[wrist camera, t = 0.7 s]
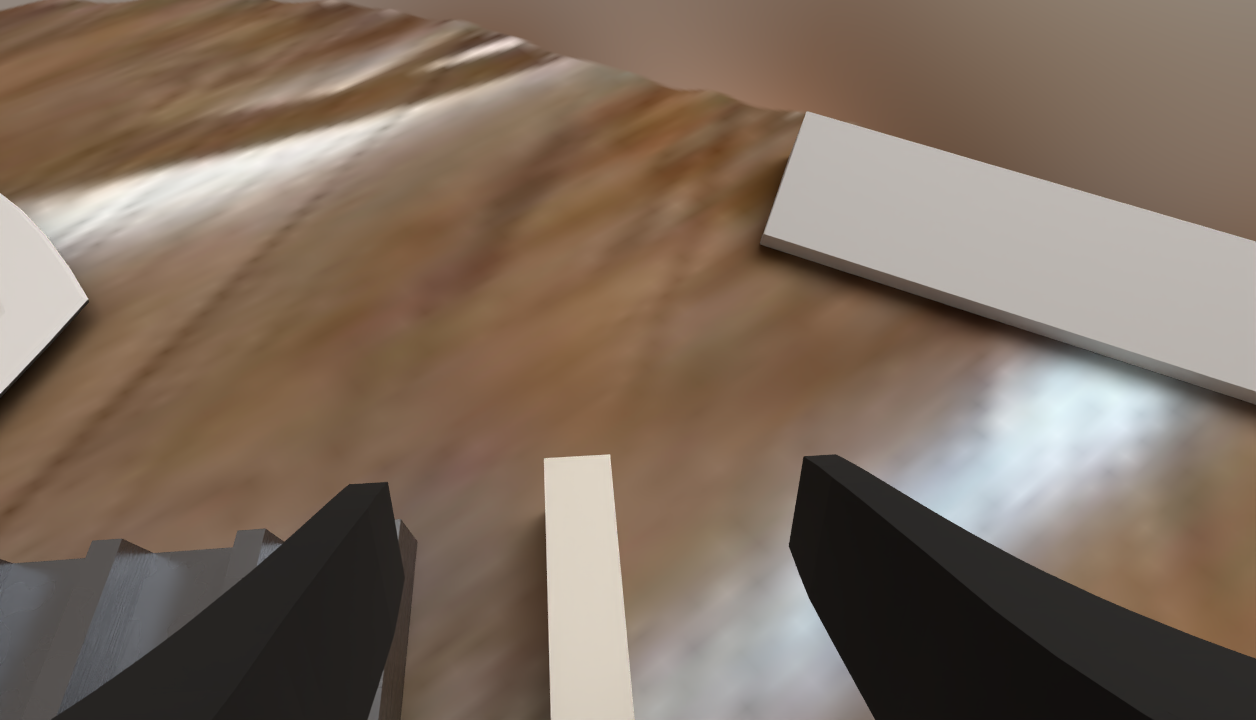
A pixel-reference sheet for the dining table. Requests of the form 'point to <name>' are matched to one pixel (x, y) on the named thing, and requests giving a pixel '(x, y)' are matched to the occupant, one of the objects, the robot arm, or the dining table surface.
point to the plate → (31, 293)
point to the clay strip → (585, 593)
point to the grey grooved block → (134, 617)
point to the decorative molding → (1023, 252)
